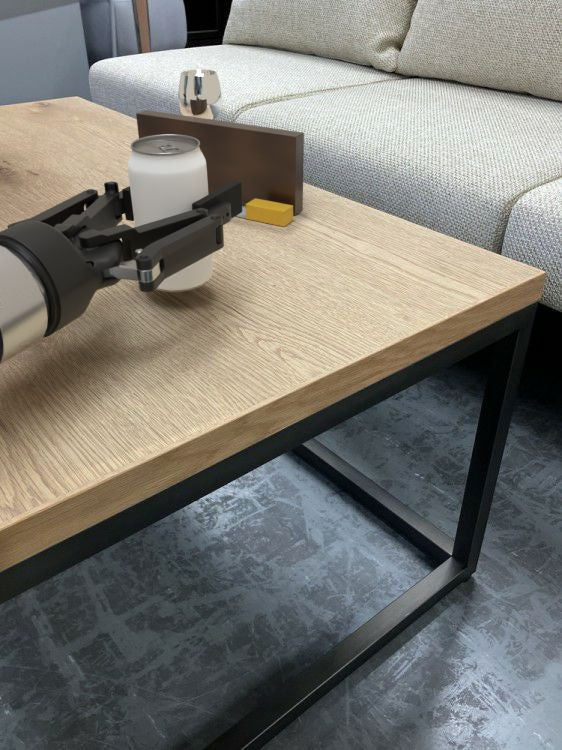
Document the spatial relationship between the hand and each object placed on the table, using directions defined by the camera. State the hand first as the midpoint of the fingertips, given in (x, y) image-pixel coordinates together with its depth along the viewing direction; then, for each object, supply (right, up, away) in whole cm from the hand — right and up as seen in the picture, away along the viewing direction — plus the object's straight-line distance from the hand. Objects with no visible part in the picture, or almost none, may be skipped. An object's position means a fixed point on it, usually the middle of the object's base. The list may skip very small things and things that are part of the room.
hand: (204, 190), depth 64 cm
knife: (+3, +2, +18) cm, 18 cm away
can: (-2, -8, 0) cm, 8 cm away
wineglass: (-4, +12, +34) cm, 36 cm away
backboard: (-1, +5, +23) cm, 24 cm away
